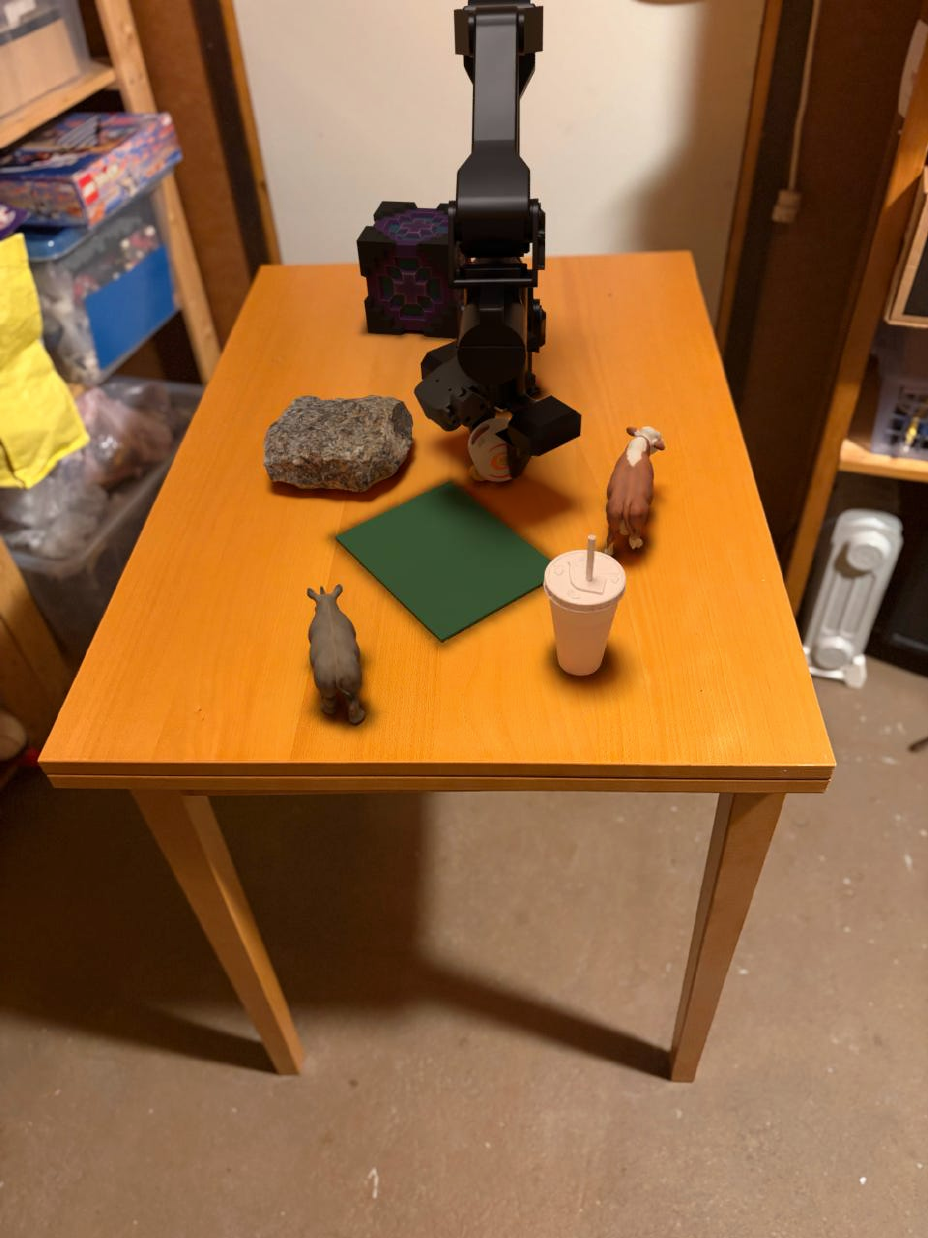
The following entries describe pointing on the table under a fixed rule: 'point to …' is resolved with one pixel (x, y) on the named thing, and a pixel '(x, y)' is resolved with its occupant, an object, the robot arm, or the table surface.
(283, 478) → the rock
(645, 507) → the bull figurine
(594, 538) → the smoothie
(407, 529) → the cloth
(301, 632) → the table surface
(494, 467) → the roller toy
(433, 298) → the energy cube
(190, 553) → the table surface
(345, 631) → the rhino figurine
